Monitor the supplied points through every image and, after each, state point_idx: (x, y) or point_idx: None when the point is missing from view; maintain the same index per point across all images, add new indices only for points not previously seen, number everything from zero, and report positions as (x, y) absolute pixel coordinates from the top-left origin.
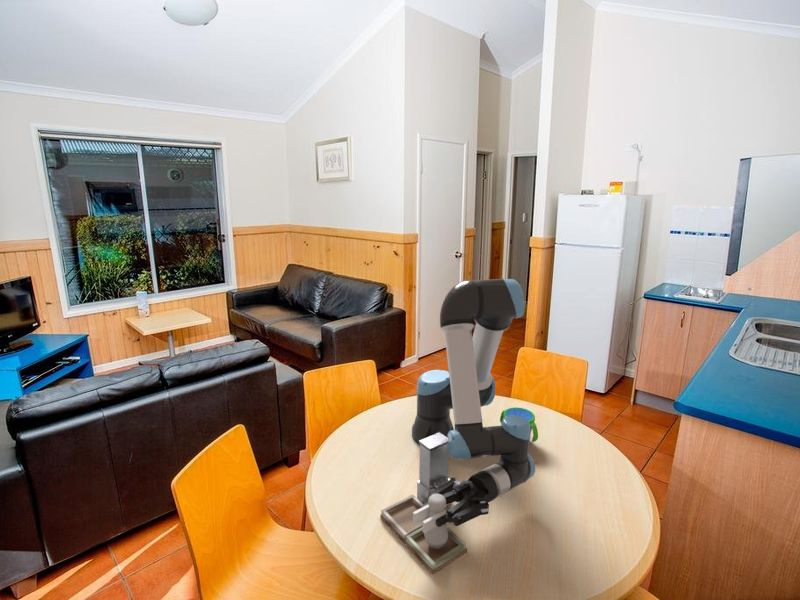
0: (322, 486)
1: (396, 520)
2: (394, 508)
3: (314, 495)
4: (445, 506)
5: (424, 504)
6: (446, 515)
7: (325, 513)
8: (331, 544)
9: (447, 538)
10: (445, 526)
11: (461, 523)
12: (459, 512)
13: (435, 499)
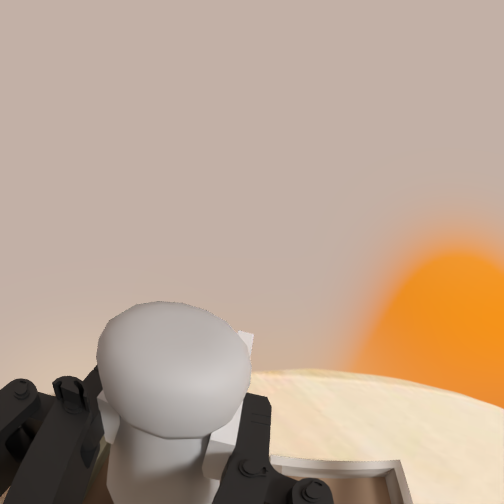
0: (487, 414)
1: (351, 491)
2: (396, 500)
3: (468, 399)
4: (99, 373)
5: (268, 415)
6: (90, 401)
7: (427, 397)
8: (352, 373)
9: (107, 486)
10: (109, 457)
11: (12, 435)
12: (8, 422)
13: (179, 314)
